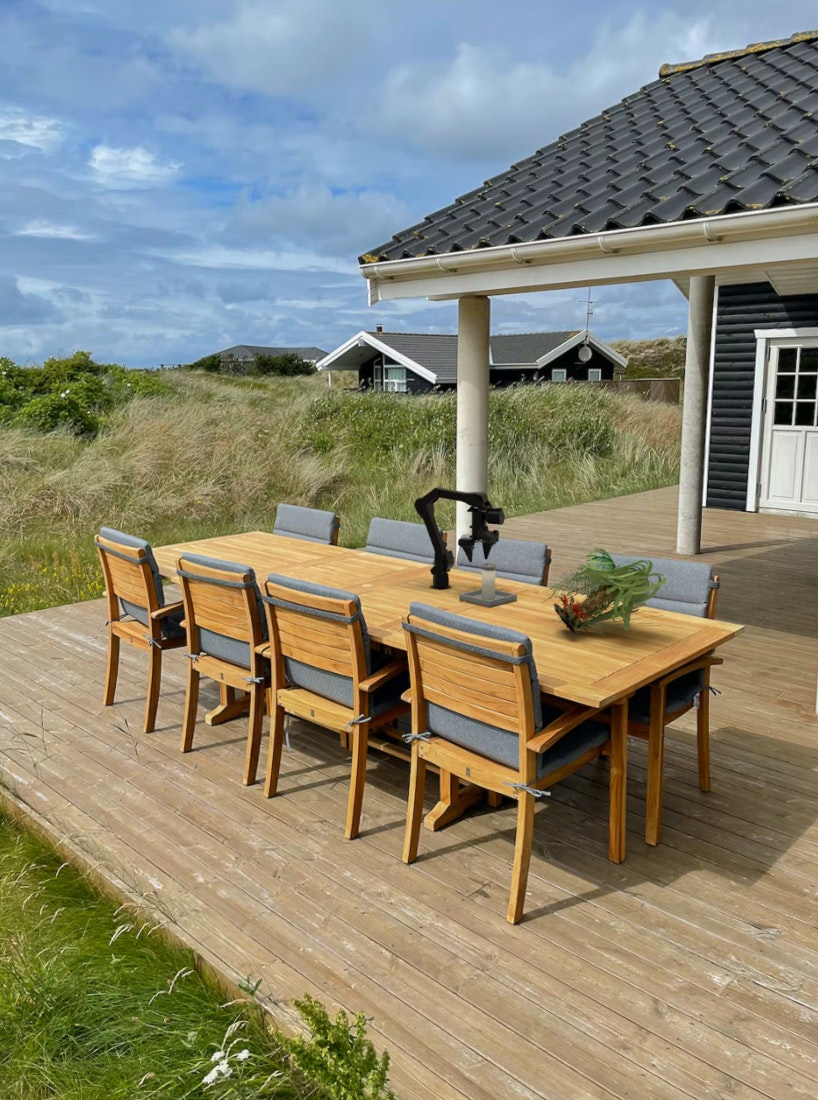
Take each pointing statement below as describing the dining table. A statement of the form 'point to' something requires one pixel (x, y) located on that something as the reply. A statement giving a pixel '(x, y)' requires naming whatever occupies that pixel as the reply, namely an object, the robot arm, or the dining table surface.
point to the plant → (605, 593)
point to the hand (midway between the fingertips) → (478, 560)
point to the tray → (500, 599)
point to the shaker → (488, 581)
